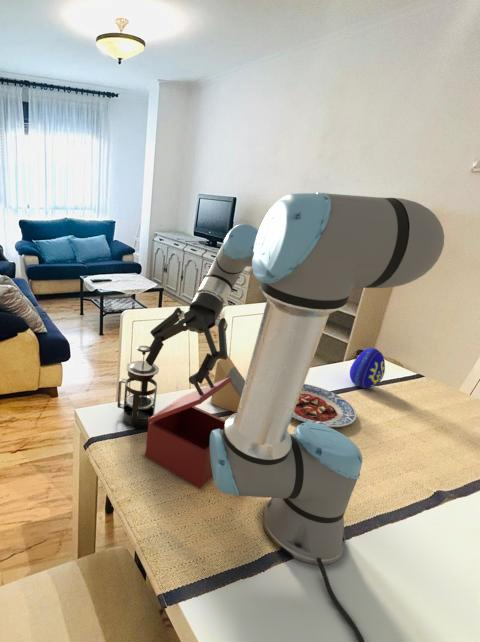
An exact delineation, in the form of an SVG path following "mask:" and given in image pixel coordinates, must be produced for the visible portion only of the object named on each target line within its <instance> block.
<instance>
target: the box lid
mask: <svg viewBox="0 0 480 642" xmlns="http://www.w3.org/2000/svg"><path fill="white" fill-rule="evenodd" d="M197 373H198V371H197V372H195V373H193V374H191V375H190V376H189V377H188V382H189V383H190V384H191V385H193V386H194V387H195V389H196V390H194V391H192V392H189V393H187V394H185V395H182V396H180V397H178V398H177V399H176V400H174V401H173V402H171V403H170V404H168V405H167V406H166V407H164V408H162V409H160V410H159V411H158V412H156V413H154V415H153V416H152V417H150V418H149V419H148V421H149V423H151V422H153V421H156V420H159V419H161V418H164V417H167V416H169V415H172V414H175V413H177V412H180V411H183V410H185V409H188V408H191V407H193V406H195V407H197V406H198V405H201V404H202V403H204V402H205V401H207V400H209V398H212V395H213V394H215V393H216V392H217V391H219V390H220V389H221V388H223V387H224V386H225V385H227V384H228V383H230V382H231V381H232V379H231V377H229V378H226V379H224V380H221V381H219V382H216V383H214V382H213V381H212V379H211V378H210V371H209V370H208V371H207V374H206V376H205V378H204V379H205V381H206V382H207V384H208V385H207V386H204V387H201V386H200V385H199V384H200V383H198V381H197V380H196V379H195V377H196V375H197Z"/></svg>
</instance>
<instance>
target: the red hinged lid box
mask: <svg viewBox="0 0 480 642" xmlns="http://www.w3.org/2000/svg"><path fill="white" fill-rule="evenodd" d="M226 420H227V419H223V418H221V417H219V416H217V415H216V414H215V415H214V414H212V413H210V412H208V411H206V410H203V409H202V408H199V407H197V406H193V407H191V408H188V409H185V410H183V411H180V412H177V413H175V414H172V415H169V416H167V417H164V418H161V419H159V420H156V421H153V422H151V423H148V428H147V435H146V445H145V454H144V456H145V457H146V458H148V459H149V460H151V461H153V462H155V463H156V464H158V465H160V466H161V467H162V468H165V469H166V470H168V471H169V472H172V473H173V474H175V475H176V476H177V477H179V478H181V479H183V480H184V481H186V482H188V483H189V484H191V485H193V486H194V487H196V488H197V489H199V490H200V489H202V488H203V487H204V486H205V484H207V483H208V481H209V480H210V479H211V478H213V474H212V468H211V460H210V434H211V432H212V431H213V430H216V429H220V430H223V429H224V425H225V422H226Z"/></svg>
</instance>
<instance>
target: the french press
mask: <svg viewBox="0 0 480 642" xmlns="http://www.w3.org/2000/svg"><path fill="white" fill-rule="evenodd" d="M136 350H137V351H138V352H140V353H141V354H142V360H135V361H131V362H129V363H128V364H127V365H126V368H125V369H126V371H127V376H128V378H120V379H119V381H118V391H117V408H118V409H123V412H122V418H121V419H122V422H123V423H124V425H126V426H127V427H129V428H131V429H137V430H145V429H148V423H149V421H148V419H149V418H150V417H152V416H153V415H155V412H156V401H157V391H158V383H157V381H156V380H155V379H153V378H154V377H155V375H157V374H158V373H159V371H160V368H159V366H158V365H157V364H155V363H153V365H152V366H150V365H149V364H148V363H147V362H146V361H145V355H146V353H150V351H151V350H150V346H149V345H138V346H137V347H136ZM134 381H136V382H140V385H139V387H140V388H139V390H137V389H133V388H131V387H129V386H128V385H129V383H131V382H134ZM122 383H123V384H125V385H124V386H125V387H124V398H123V404H122V403H121V400H122V399H121V398H122V396H121V395H122ZM149 383H151V384H152V385H154V388H153V389H150V390H148V388H149V387H148V386H149ZM128 393H130V394H128ZM151 395H154V396H153V397H152V396H151ZM139 413H142V414H145V415H147V417H139ZM130 414H131V415H130Z"/></svg>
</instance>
